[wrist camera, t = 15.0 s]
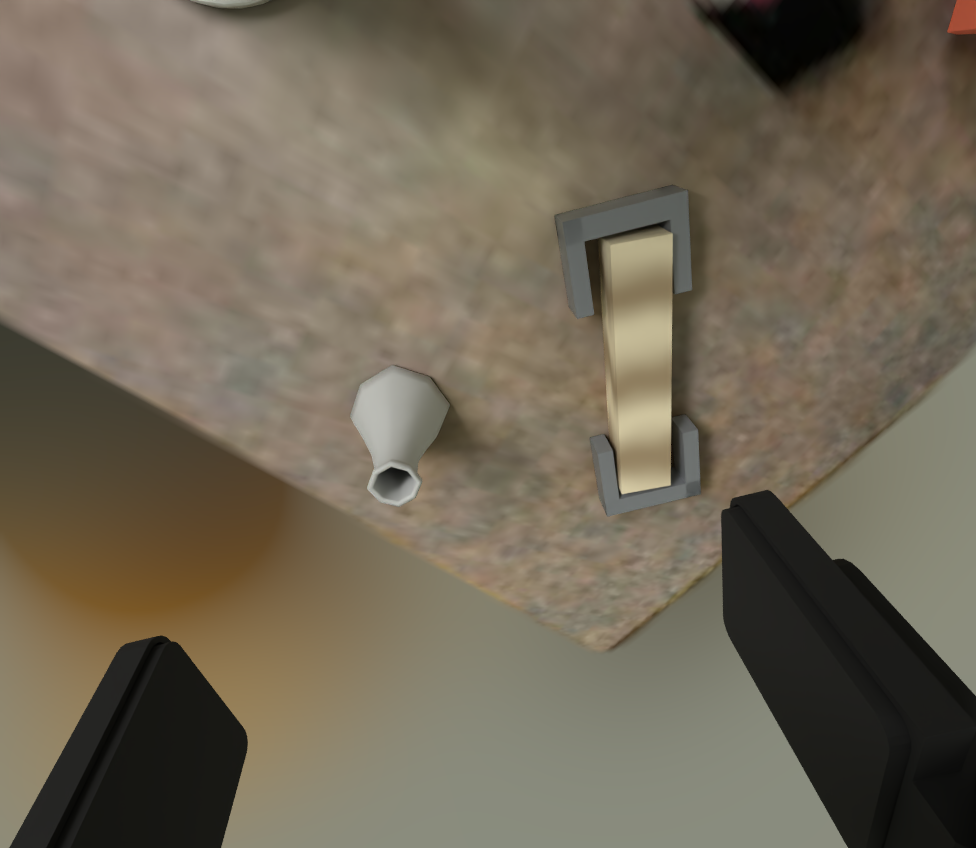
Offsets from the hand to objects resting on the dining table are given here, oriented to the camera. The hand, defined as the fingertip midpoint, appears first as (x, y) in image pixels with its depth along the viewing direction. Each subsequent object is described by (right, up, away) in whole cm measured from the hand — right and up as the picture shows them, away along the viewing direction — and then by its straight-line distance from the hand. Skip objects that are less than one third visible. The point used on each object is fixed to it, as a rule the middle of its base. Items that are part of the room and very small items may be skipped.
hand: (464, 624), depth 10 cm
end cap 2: (+13, +1, +39) cm, 41 cm away
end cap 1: (+9, +16, +30) cm, 35 cm away
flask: (-6, +5, +34) cm, 35 cm away
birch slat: (+11, +8, +34) cm, 37 cm away
